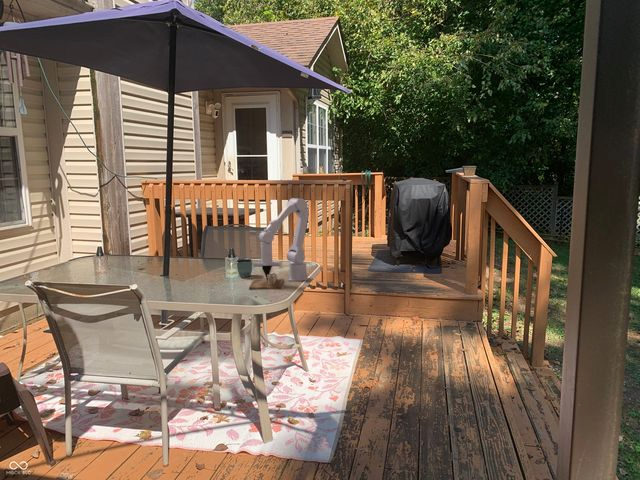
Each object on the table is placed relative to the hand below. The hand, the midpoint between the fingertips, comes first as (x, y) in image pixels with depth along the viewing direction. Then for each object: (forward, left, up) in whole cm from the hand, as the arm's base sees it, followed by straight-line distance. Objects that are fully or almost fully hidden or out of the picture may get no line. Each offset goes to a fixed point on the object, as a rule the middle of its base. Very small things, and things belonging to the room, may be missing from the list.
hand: (267, 280), depth 261 cm
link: (-2, -1, -1) cm, 3 cm away
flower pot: (+15, -22, -3) cm, 27 cm away
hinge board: (0, +1, -2) cm, 3 cm away
